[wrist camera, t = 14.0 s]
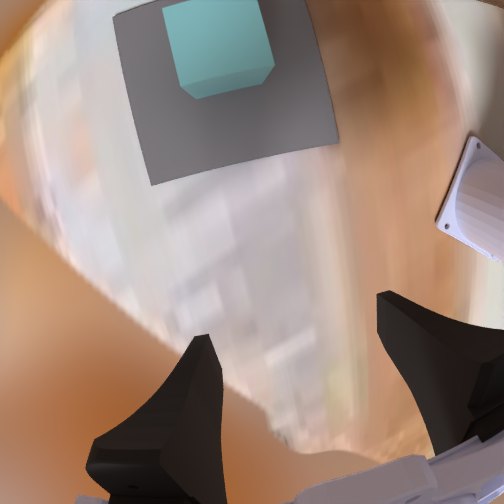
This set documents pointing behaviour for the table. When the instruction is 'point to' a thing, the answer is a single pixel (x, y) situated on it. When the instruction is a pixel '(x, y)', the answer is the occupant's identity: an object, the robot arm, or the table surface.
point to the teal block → (218, 45)
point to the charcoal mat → (224, 96)
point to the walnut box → (494, 2)
